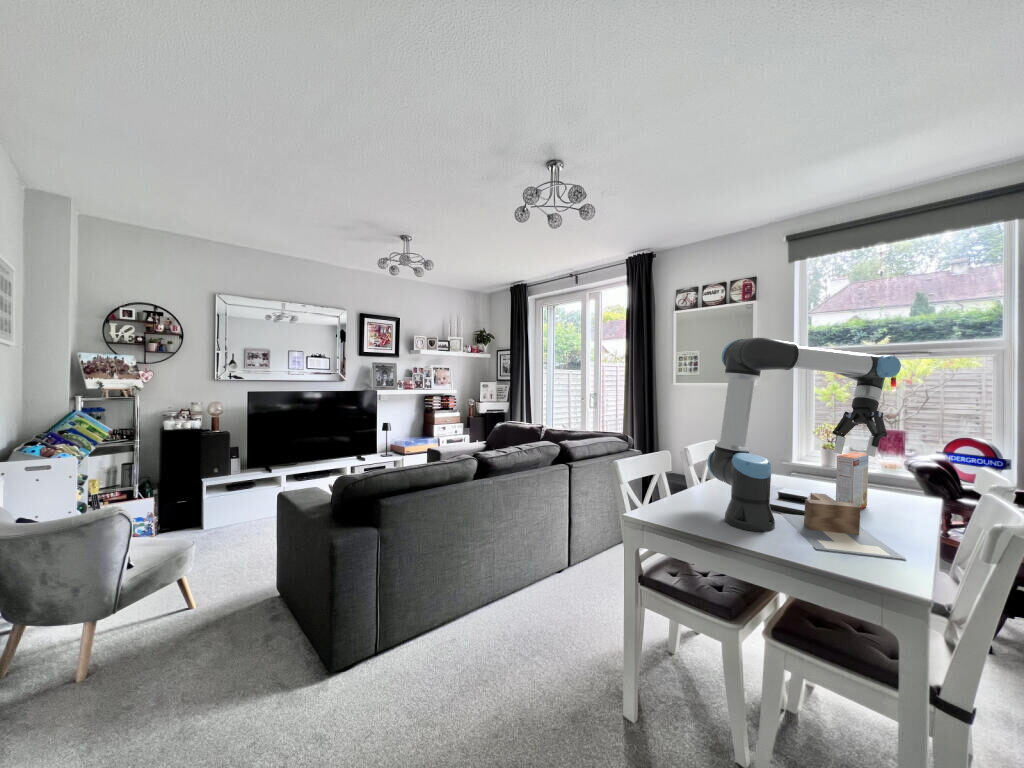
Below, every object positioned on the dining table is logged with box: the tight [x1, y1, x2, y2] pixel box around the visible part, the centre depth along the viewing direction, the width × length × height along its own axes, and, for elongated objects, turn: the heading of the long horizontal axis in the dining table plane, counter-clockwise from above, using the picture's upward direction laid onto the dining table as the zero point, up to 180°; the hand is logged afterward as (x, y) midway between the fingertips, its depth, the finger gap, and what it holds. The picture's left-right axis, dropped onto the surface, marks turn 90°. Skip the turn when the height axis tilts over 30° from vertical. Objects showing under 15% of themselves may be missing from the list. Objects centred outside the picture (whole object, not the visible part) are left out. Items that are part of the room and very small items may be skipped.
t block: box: [803, 492, 861, 535], centre depth 146 cm, size 14×14×9 cm
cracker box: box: [835, 451, 870, 510], centre depth 166 cm, size 14×6×21 cm, turn 122°
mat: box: [780, 513, 906, 560], centre depth 139 cm, size 22×32×1 cm
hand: (853, 454), depth 156 cm, fingers open, 13 cm apart
